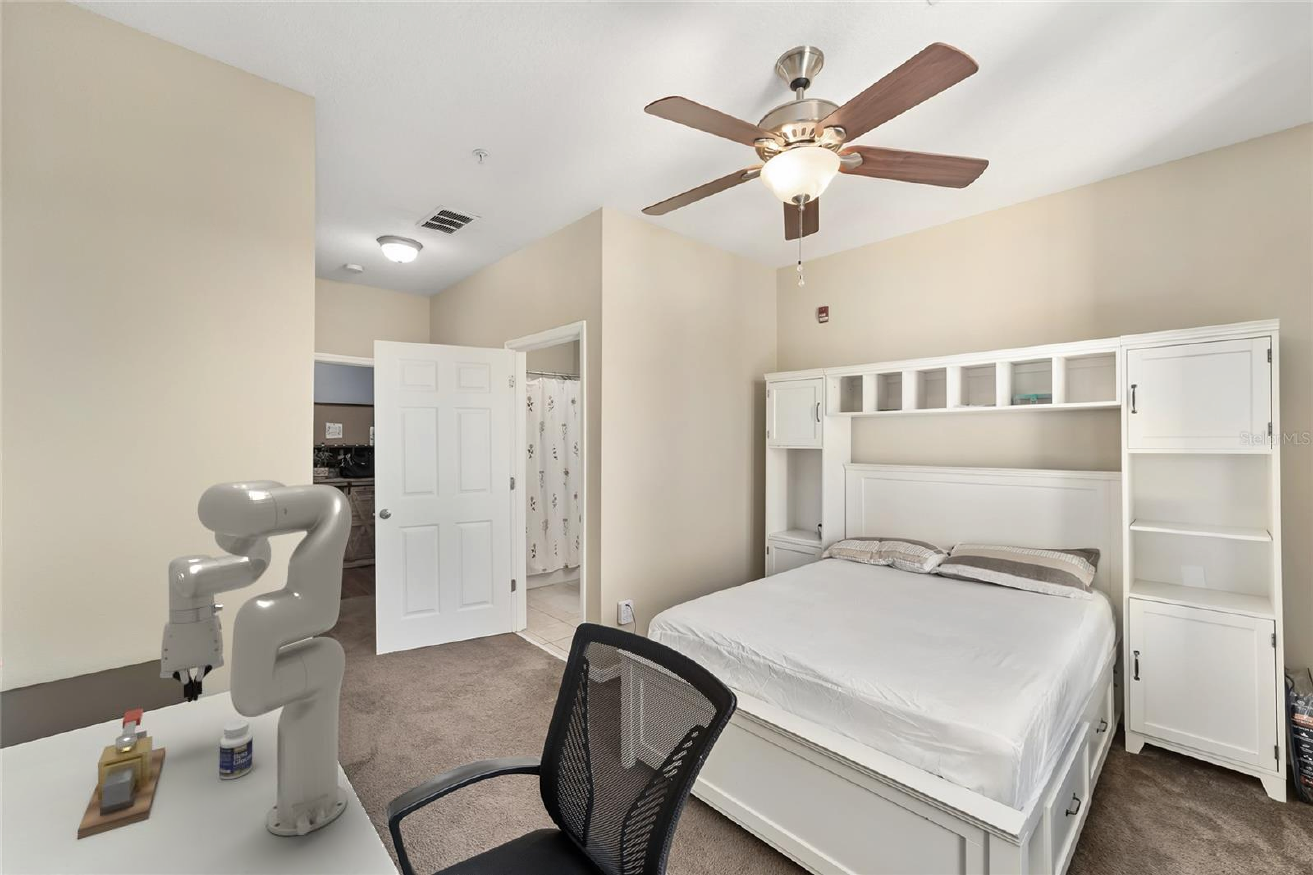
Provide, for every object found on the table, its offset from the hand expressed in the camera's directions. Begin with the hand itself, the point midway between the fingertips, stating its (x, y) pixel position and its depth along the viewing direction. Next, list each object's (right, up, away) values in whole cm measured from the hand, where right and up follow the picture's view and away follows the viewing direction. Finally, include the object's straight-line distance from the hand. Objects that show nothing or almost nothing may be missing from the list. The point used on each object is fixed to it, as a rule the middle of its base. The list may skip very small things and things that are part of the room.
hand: (193, 698), depth 121 cm
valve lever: (-5, -3, -9) cm, 11 cm away
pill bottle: (+14, -12, -6) cm, 20 cm away
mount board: (-2, -12, -13) cm, 18 cm away
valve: (-2, -10, -13) cm, 17 cm away
